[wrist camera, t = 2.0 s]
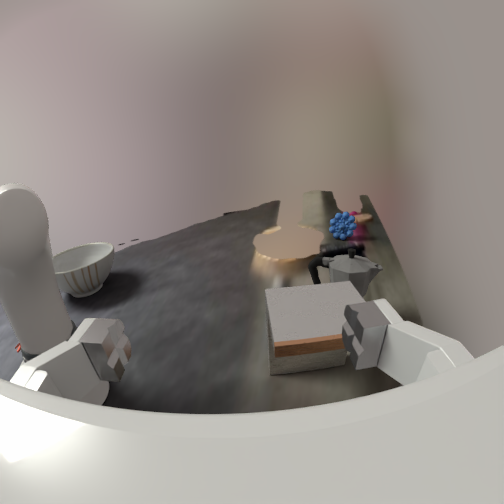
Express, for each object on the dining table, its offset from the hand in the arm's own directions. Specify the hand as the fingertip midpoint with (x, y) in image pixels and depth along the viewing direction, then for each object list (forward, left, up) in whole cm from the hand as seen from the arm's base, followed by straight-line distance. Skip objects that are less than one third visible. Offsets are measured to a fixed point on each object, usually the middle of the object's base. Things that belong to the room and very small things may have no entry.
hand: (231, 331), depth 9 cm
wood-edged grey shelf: (+10, +23, -31) cm, 40 cm away
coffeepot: (+20, +40, -32) cm, 55 cm away
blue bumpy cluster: (+40, +95, -32) cm, 108 cm away
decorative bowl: (-55, +66, -32) cm, 92 cm away
